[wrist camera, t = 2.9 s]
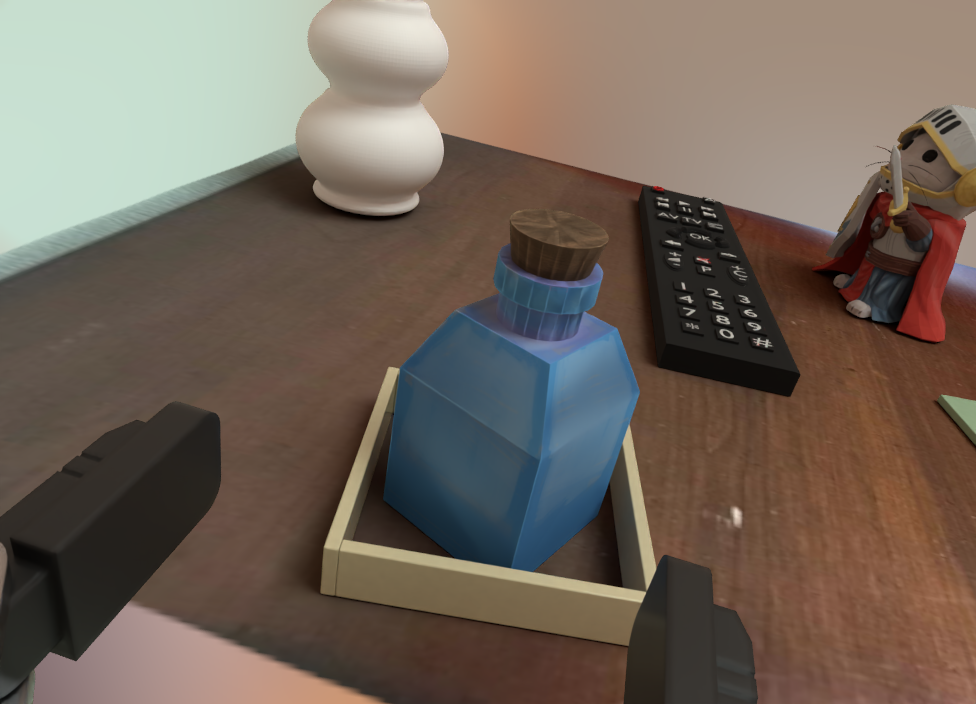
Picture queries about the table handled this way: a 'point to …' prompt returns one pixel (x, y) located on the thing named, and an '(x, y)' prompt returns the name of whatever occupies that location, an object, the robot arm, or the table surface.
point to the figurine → (910, 225)
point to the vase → (373, 105)
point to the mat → (961, 413)
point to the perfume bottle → (515, 404)
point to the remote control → (708, 296)
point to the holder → (483, 585)
